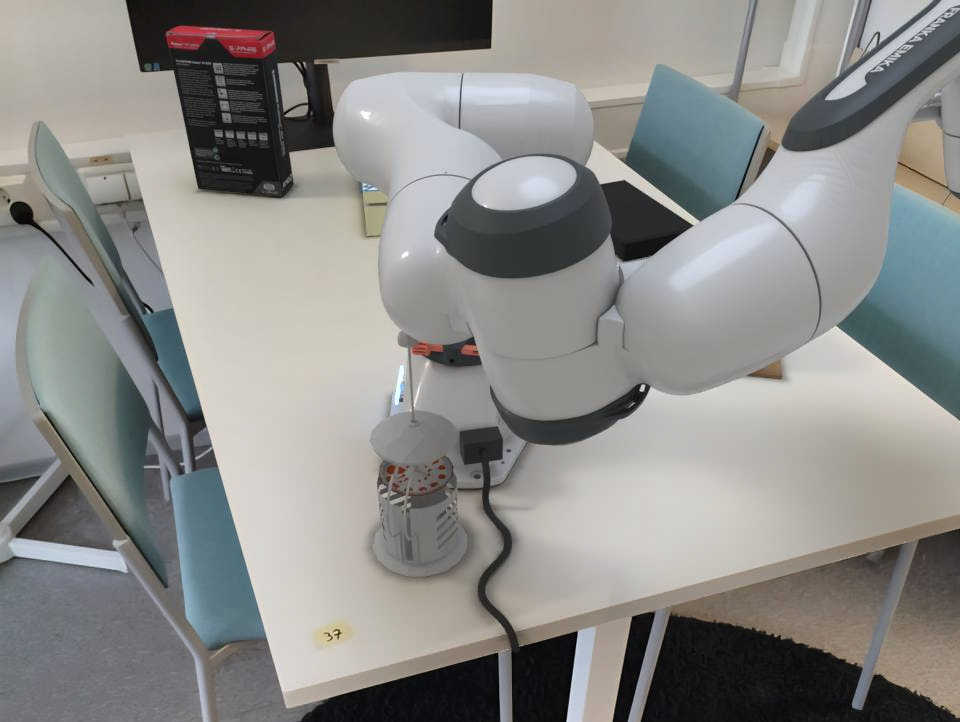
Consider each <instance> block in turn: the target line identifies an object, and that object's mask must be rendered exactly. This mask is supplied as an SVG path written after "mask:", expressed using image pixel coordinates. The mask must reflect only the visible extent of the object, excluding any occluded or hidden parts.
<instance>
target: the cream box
mask: <svg viewBox="0 0 960 722" xmlns="http://www.w3.org/2000/svg"><path fill="white" fill-rule="evenodd" d="M358 185H359V186H360V185H361V186H360V187H358V190H360V191H359V194H361V193H362V200H363V201H362V202H363V209H364V212H363V213H364V221H365V232H366V233H365V234H366V237H376V236H378V237H379V236H380V234H381V229H382V224H383V219H384V215H385V211H386V207H387V202H388V196H387V195H385V194H384V193H383V192H381V191H380V190H378V189H376V188H374V187H372V186H370V185H368V184H365V183H363V182H360V183H358Z"/></svg>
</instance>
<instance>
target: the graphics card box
mask: <svg viewBox="0 0 960 722" xmlns="http://www.w3.org/2000/svg"><path fill="white" fill-rule="evenodd" d="M165 38H166V42H167V46H168V51H169V56H170V60H171V66H172V70H173V75H174V79H175V83H176V85H175V86H176V89H177V93H178V99H179V104H180V106H181V107H180V108H181V114H182V118H183V123H184V127H185V132H186V133H185V134H186V138H187V142H188V148H189V153H190V157H191V158H190V159H191V163H192V167H193V173H194V176H195V181H196V186H197V189H198V190H203V191H204V190H205V191H212V192H213V191H214V192H215V191H216V192H223V193H224V192H225V193H234V194H245V195H253V196H254V195H256V196H263V197H275V198H281V197H284V196H285V195H286V194H287V192H288V191H289V190H290V189H291V188H292V187H293V186H294V184H295V183H294V176H293V168H292V160H291V154H290V146H289V141H288V132H287V124H286V116H285V111H284V110H285V109H284V102H283V94H282V87H281V80H280V79H281V78H280V73H279V71H280V70H279V63H278V58H277V57H278V56H277V48H276V41H275V34H274V31H273V30H256V29H244V28H243V29H242V28H241V29H240V28H224V27H211V26H209V27H208V26H194V25H178V26H175V27H172V28H171V29H169V30H168V31H165Z"/></svg>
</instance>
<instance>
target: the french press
mask: <svg viewBox="0 0 960 722" xmlns="http://www.w3.org/2000/svg"><path fill="white" fill-rule="evenodd" d="M418 344H419V340H416V339H414V338H412V337H410V336H409V335H407V334H406V333H404V332H403V331H402V330H400V331H399V332H398V334H397V345H398V346H399V347H401V348H405V349H407V348H408V354H407V358H408V357H409V373H410V390H411V406H412V411H409V412H403V413H398V414H394V415H392V416H390V415H389V416H388V417H386V418H384V419H383V420H380V422H378V423H377V425H376V426H375V427H374V428H373V429H372V430H371V433H370V439H369V442H370V445H371V447H372V449H373V451H374V452H375V454H376V455H378V456H379V457H380V458H382V460H383V462H382V463H380V465H379V470H378V477H377V480H376V491H377V499H378V500H377V501H378V512H379V521H380V528H379V529H378V530H377V531H376V533H375V534H374V539H373V545H372V549H373V552H374V554H375V557H376V560H377V562H379V563H380V564H381V565H382V566H384V567H385V568H386V569H387V570H389V571H390V572H393V573H395V574H398V575H402V576H404V577H412V578H413V577H415V578H428V577H431V576H434V575H435V576H436V575H438V574H439V575H440V574H443V573H445V572H447V571H448V570H450V569H451V568H453V567H454V566H456V565H458V564H459V563H460V561H461V560H462V559H463V557H464V555H465V554H466V553H467V551H468V541H469V536H468V534H467V533H466V531H465V529H464V527H463V525H462V524H461V523H460V522H459V518H458V517H459V513H458V512H459V511H458V510H459V509H458V506H459V505H458V488H457V477H456V475H455V473H454V472H453V467H454V466H453V465H452V463H451V461H450V459H449V458H448V457H447V456H445V455H447V454H448V453H449V452H450V451H451V450H452V448H453V447H454V446H455V444H456V443H457V435H458V432H457V430H456V429H455V427H454V425H453V424H452V422H450V421H449V420H447V419H446V418H444V417H443V416H441V415H438V414H435V413H431V412H427V411H419V410H415V411H414V401H413V384H412V367H411V350H410V348H411V347H415V346H417V345H418ZM447 483H449V484H450V485H451V486H452V487H453V488H449V487H448V486H446V485H447ZM381 485H383V486H385V487H384V488H381V489H380V486H381ZM452 489H454V490H452ZM386 493H387V496H386V497H383V496H382V495H384V494H386ZM391 493H394V494H391ZM447 493H448V494H449V495H448V494H447ZM403 497H404V499H403V500H400V501H398V502H395V503H391V501H394V500H397V499H400V498H403ZM454 501H455V502H454ZM408 504H410V506H409V507H408ZM450 505H451V506H452V507H451V506H450ZM451 515H453V516H451Z"/></svg>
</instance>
